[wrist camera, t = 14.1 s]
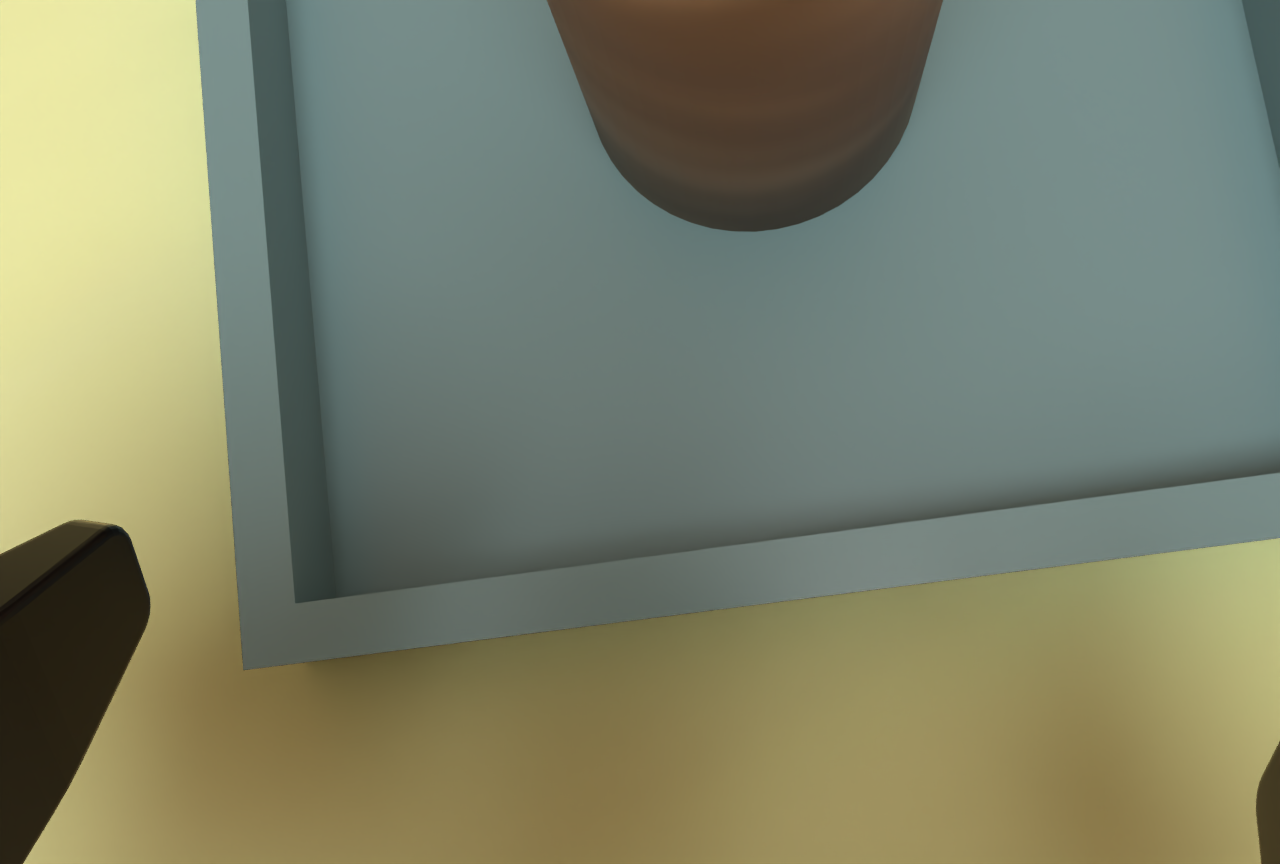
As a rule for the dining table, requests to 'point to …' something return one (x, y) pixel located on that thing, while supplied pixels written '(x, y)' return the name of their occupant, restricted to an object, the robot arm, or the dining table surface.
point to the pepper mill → (748, 98)
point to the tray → (727, 325)
